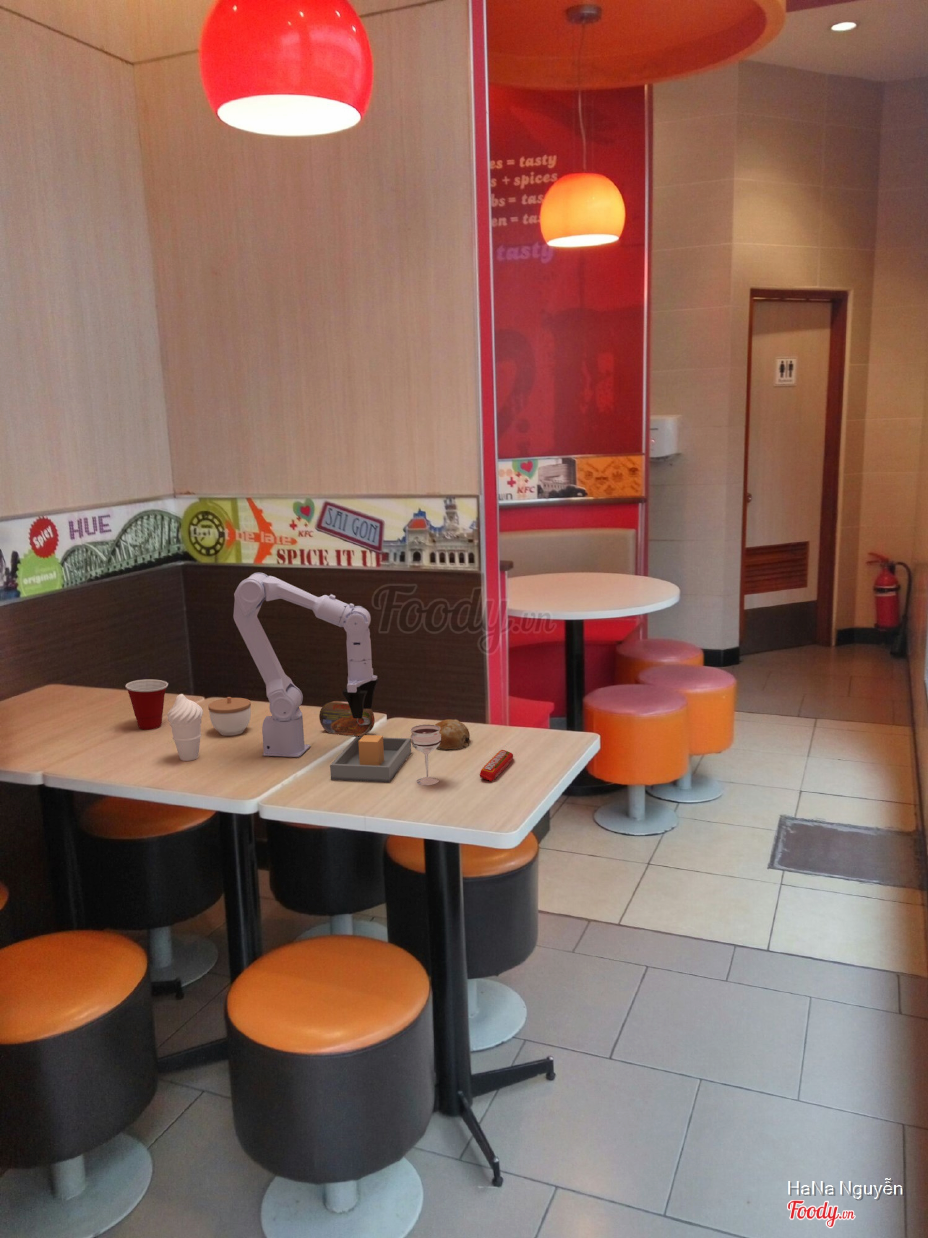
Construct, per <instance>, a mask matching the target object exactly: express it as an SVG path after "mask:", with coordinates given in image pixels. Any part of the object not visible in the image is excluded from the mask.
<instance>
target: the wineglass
mask: <svg viewBox="0 0 928 1238" xmlns="http://www.w3.org/2000/svg"><path fill="white" fill-rule="evenodd" d="M440 729H441V728H440V727H439V726H436V725H435V724H418V725H415V726H413V727H411V728H410V729H409V730H410V732H411V735H410V739H411V746H412V747H413V748H414V749H415V750H416V751H418V752H421V753H423V755H424V763H425V771H426V773H425V775H426V776H425V777H420V778H418V779H417V780H416V783H417V785H420V786H433V785H436V784H438V783H439V781H440V780H439V779H438V778H437V777H434V776H429V755H430V754H431V752H433V751H436V748H437V747H438V746H439V745H440V742H441V734H440V733H439V731H440Z"/></svg>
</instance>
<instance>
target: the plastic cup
mask: <svg viewBox="0 0 928 1238" xmlns="http://www.w3.org/2000/svg"><path fill="white" fill-rule="evenodd" d="M168 686H169V682H167V681H166V680H160V679H146V678H145V679H137V680H133V681H130V682H127V683H126V684H125V689H126V690H127V693H128V697H129V698H130V701H131V702H130V703H131V705H132V709H133V713H134V716H135V719H136V723H137V726H138V728H139V729H140V730H142V731H143V730H145V731H149V730H156V729H159V728H160V727H162V723H163V714H164V704H165V695H166V691H167V688H168Z"/></svg>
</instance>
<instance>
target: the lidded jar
mask: <svg viewBox="0 0 928 1238" xmlns="http://www.w3.org/2000/svg"><path fill="white" fill-rule="evenodd" d="M251 704H252V702H251V700H249V699H248V698H242V697H231V696H227V697H226V698H220V699H218V700H214V701H211V702H210V703H209V704H208V708H207V709H208V711H209V712H208V713H209V718H210V719H209V720H210V722H211V726H212V727H213V728H214V729H215V730H216V732H218V733H219V735H220V736H225V737H227V736H228V737H230V736H236V735H240V734H242V733H244V731H245V729H246V728H247V727H248V726H249V724H250V721H251V715H252V707H251V706H252V705H251Z"/></svg>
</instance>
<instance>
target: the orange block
mask: <svg viewBox="0 0 928 1238" xmlns="http://www.w3.org/2000/svg"><path fill="white" fill-rule="evenodd" d="M361 737H362V738H361V739H360V740H359V741H358V743H359V760H360V765H375V766H380V765H381V763H382V762H383V761H384V747H383V737H384V735H374V734H373V735H372V734H370V735H369V734H365V735H363V736H361Z"/></svg>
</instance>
